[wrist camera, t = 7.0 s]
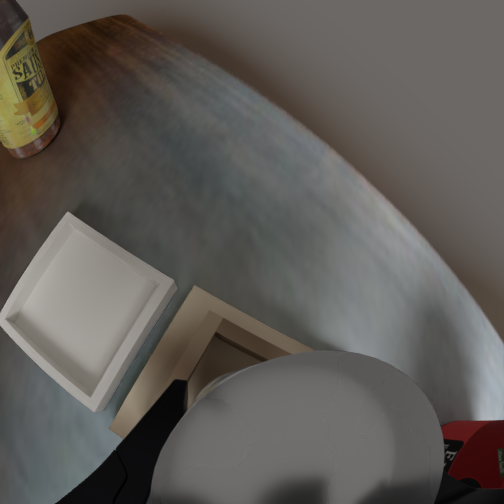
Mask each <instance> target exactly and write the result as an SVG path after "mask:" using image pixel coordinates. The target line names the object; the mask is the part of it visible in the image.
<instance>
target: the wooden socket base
mask: <svg viewBox="0 0 504 504" xmlns="http://www.w3.org/2000/svg"><path fill="white" fill-rule="evenodd" d="M310 351H316V350H314V349H312V348H310V347H308V346H306V345H304V344H302V343H300V342H298V341H296V340H294V339H292V338H290V337H288V336H286V335H284V334H282V333H281V332H279V331H277V330H275V329H273V328H271V327H269V326H267V325H265V324H264V323H262V322H260V321H258V320H256V319H254V318H252V317H251V316H249V315H247V314H245V313H243V312H241V311H240V310H238V309H236V308H234V307H232V306H231V305H229V304H227V303H225V302H223V301H222V300H220V299H218V298H216V297H215V296H213V295H211V294H209V293H208V292H206V291H204V290H202V289H201V288H199V287H197V286H195V285H194V287H193V288H192V290H191V291H190V293H189V295H188V296H187V298H186V299H185V301H184V303H183V304H182V306H181V307H180V309H179V311H178V312H177V314H176V316H175V317H174V319H173V320H172V322H171V324H170V325H169V327H168V329H167V330H166V332H165V334H164V335H163V337H162V338H161V340H160V342H159V343H158V345H157V347H156V348H155V350H154V352H153V353H152V355H151V357H150V358H149V360H148V362H147V363H146V365H145V367H144V368H143V370H142V372H141V374H140V375H139V377H138V379H137V380H136V382H135V384H134V385H133V387H132V389H131V391H130V392H129V394H128V396H127V397H126V399H125V401H124V403H123V404H122V406H121V408H120V410H119V411H118V413H117V415H116V417H115V418H114V420H113V422H112V424H111V425H110V427H109V429H110V430H112V431H113V432H115V433H116V434H118V435H119V436H121V437H122V438H125V437H126V436H127V435H128V433H129V432H130V431H131V430H132V429H133V428H134V426H135V425H136V424H137V423H138V422H139V420H140V419H141V418H142V417H143V416H144V415H145V413H146V412H147V411H148V410H149V409H150V407H151V406H152V405H153V404H154V403H155V402H156V400H157V399H158V398H159V397H160V396H161V394H162V393H163V392H164V391H165V390H166V388H167V387H168V386H169V385H170V384H171V382H172V381H173V380H174V379H182V380H187V381H188V409H189V407H190V406H191V404H192V403H193V402H194V400H195V399H196V397H197V396H198V394H199V393H200V392H201V390H202V389H203V388H204V386H205V385H206V384H207V383H209V382H210V381H211V380H213V379H214V378H216V377H218V376H220V375H223V374H226V373H229V372H233V371H236V370H240V369H243V368H246V367H250V366H253V365H256V364H259V363H262V362H266V361H269V360H272V359H275V358H278V357H282V356H287V355H291V354H296V353H301V352H310ZM188 409H187V410H188Z"/></svg>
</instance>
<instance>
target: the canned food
mask: <svg viewBox="0 0 504 504" xmlns="http://www.w3.org/2000/svg"><path fill="white" fill-rule="evenodd" d="M441 430H442V434H443V442H444V467H443V471H444V472H446V473H447V474H449V475H451V476H452V477H454V478H455V479H457V480H458V481H460V482H462V483H463V484H465V485H467V486H470V487H473V488H478V489H504V420H493V421H454V422H451V423H448V424H445V425H443V426H441Z"/></svg>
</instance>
